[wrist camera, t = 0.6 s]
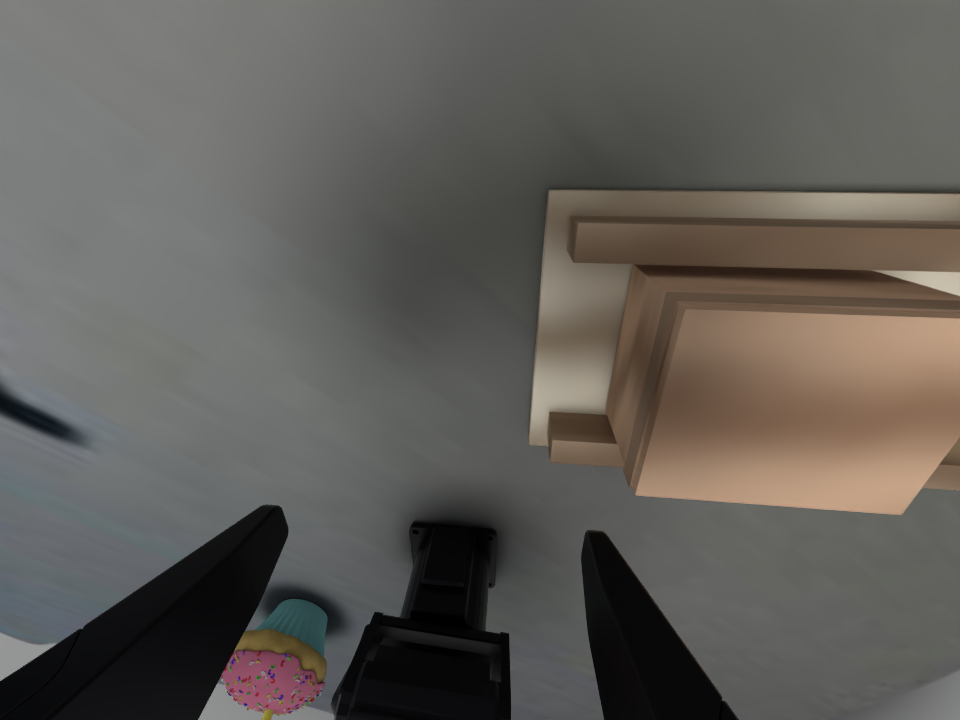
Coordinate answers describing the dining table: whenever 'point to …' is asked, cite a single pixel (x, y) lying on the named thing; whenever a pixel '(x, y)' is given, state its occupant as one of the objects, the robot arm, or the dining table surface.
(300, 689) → the cupcake
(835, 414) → the crate
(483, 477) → the dining table surface
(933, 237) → the bay
